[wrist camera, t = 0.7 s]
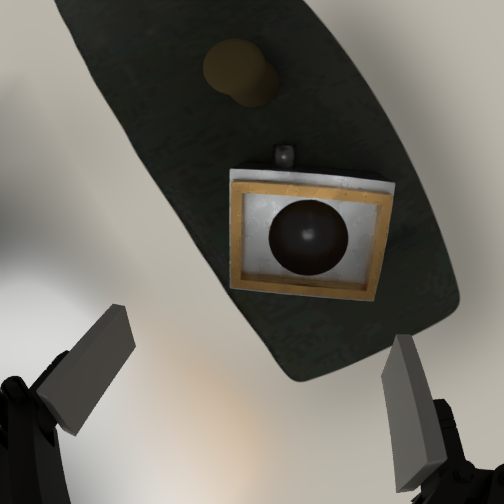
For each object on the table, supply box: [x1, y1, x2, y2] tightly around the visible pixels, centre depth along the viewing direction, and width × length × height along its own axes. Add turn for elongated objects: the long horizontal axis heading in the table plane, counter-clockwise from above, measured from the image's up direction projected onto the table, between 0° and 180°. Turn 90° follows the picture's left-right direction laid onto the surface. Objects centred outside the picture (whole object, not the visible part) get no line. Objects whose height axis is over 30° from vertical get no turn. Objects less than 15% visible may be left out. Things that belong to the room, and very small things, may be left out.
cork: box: [203, 38, 280, 108], centre depth 25 cm, size 6×6×11 cm
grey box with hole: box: [229, 144, 395, 301], centre depth 31 cm, size 15×16×8 cm
